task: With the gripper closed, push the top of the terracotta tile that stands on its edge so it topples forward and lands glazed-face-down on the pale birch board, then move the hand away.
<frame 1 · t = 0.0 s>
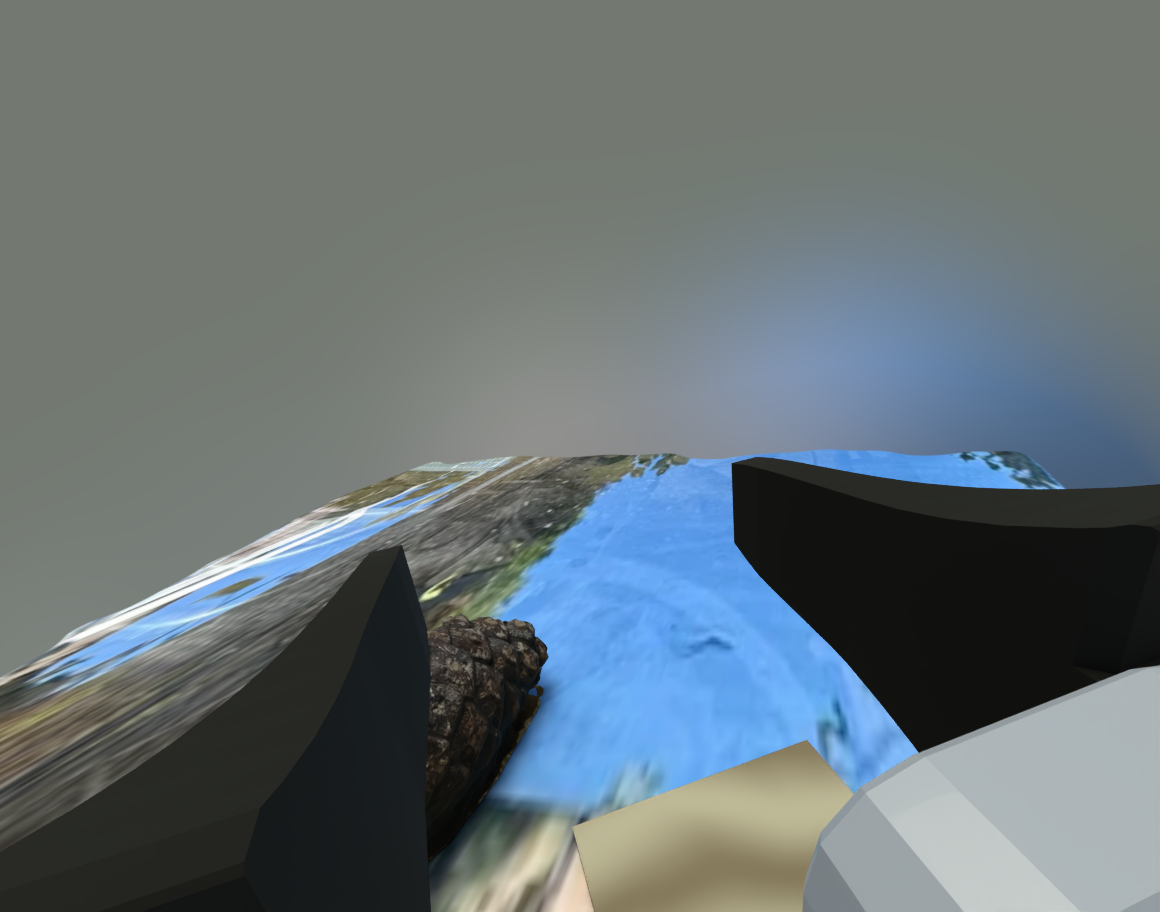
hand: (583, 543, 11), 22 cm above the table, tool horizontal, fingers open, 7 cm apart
pine cone: (440, 768, 34), on the table
board: (750, 886, 24), on the table
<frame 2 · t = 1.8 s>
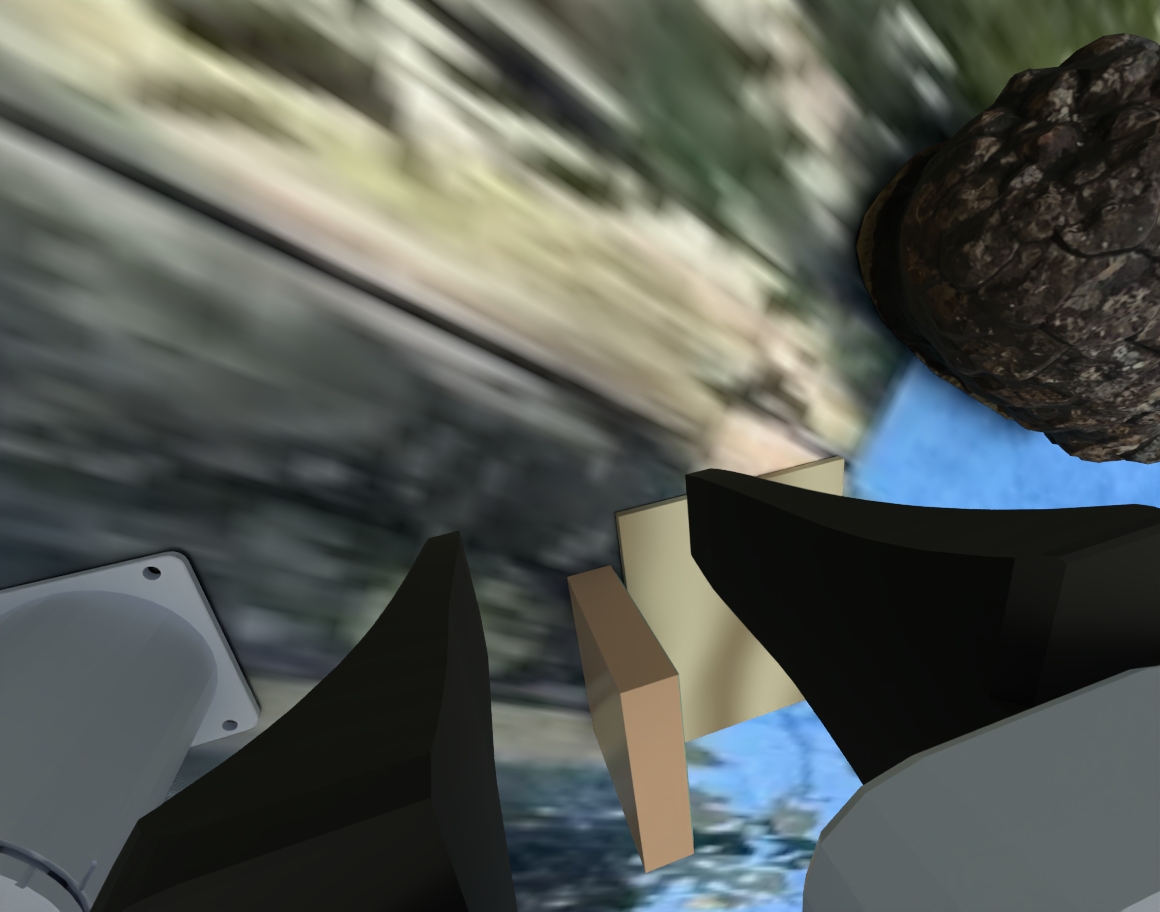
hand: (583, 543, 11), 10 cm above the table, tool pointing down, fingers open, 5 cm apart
pine cone: (982, 286, 24), on the table
tile: (600, 650, 25), on the table
board: (736, 610, 27), on the table
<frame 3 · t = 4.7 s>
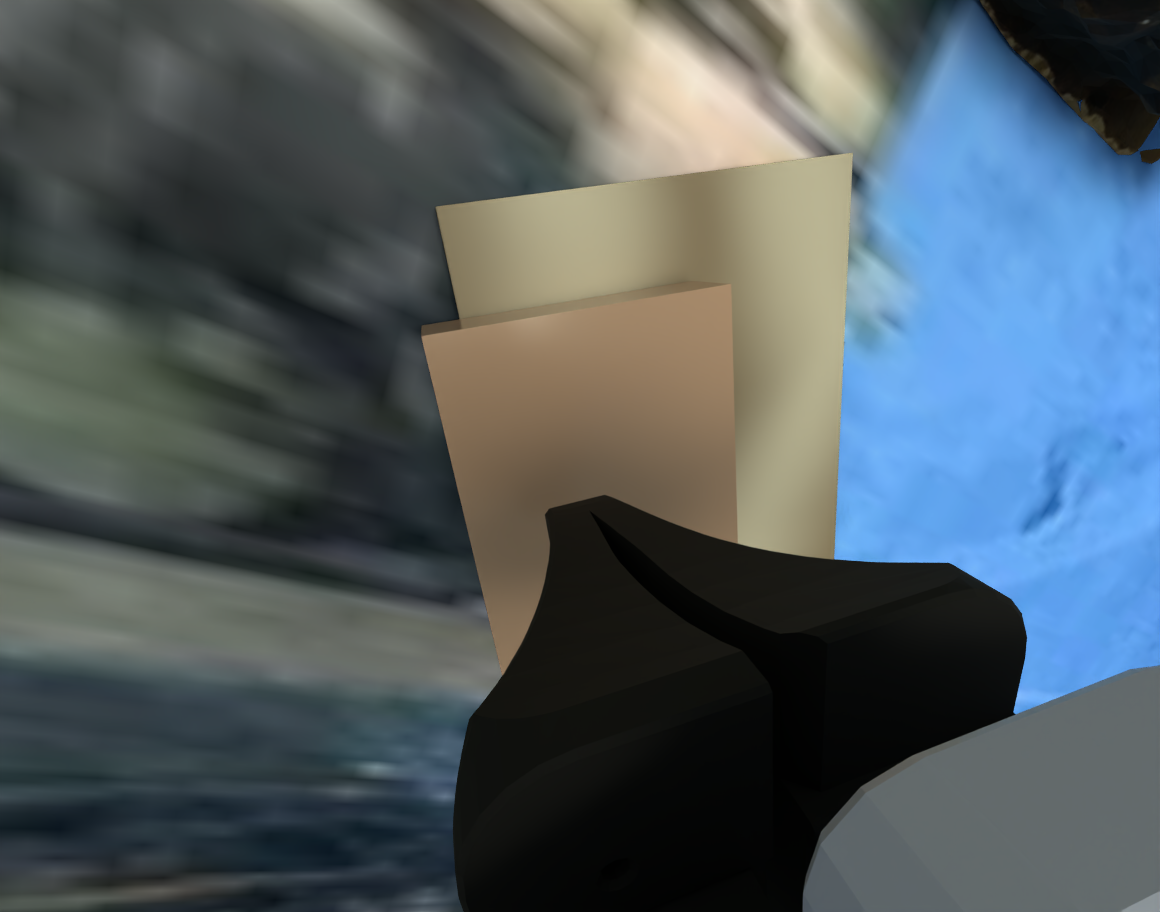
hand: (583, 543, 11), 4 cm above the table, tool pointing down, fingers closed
tile: (464, 510, 14), point 2 cm above the table, tilted 90°, touching board
board: (674, 437, 16), on the table
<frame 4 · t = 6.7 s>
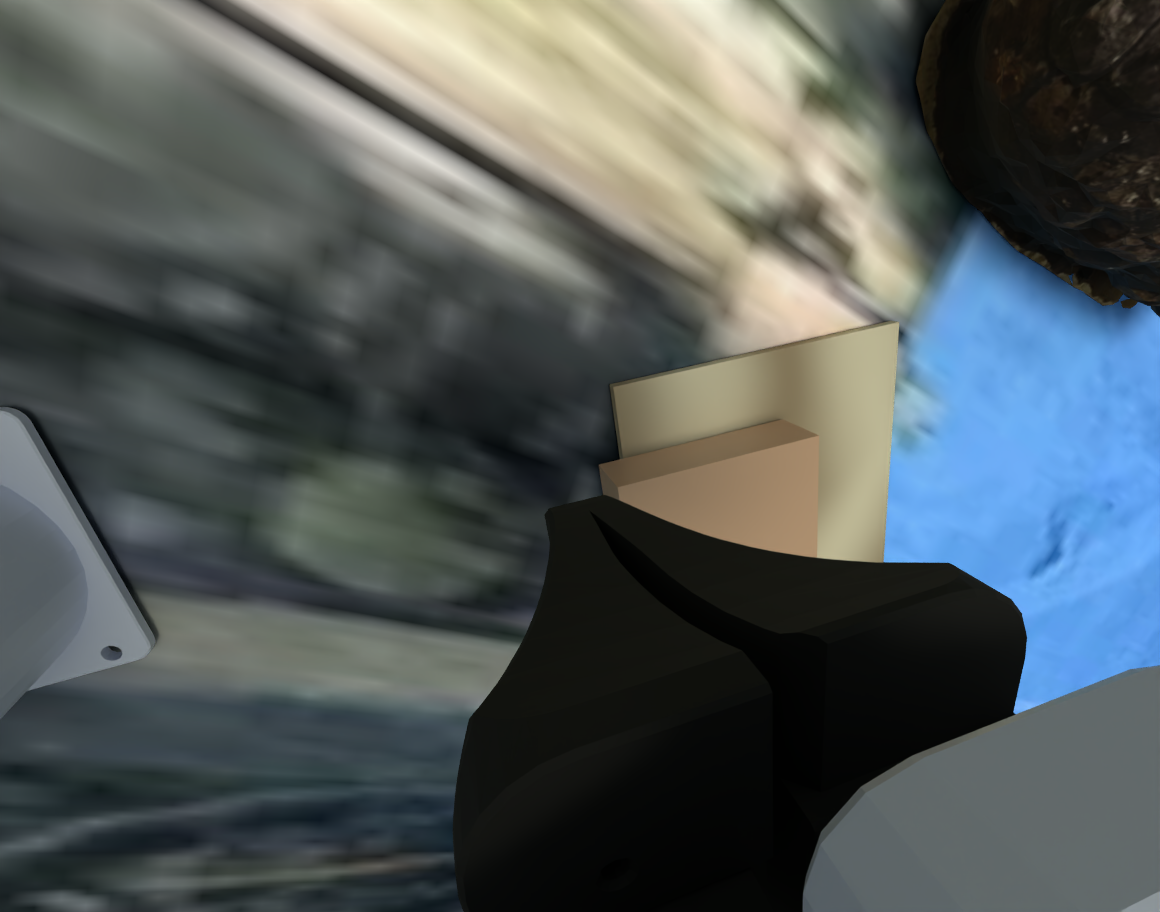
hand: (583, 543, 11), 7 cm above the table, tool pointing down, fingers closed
pine cone: (1071, 132, 20), on the table
tile: (624, 591, 19), point 2 cm above the table, tilted 90°, touching board
board: (763, 523, 22), on the table
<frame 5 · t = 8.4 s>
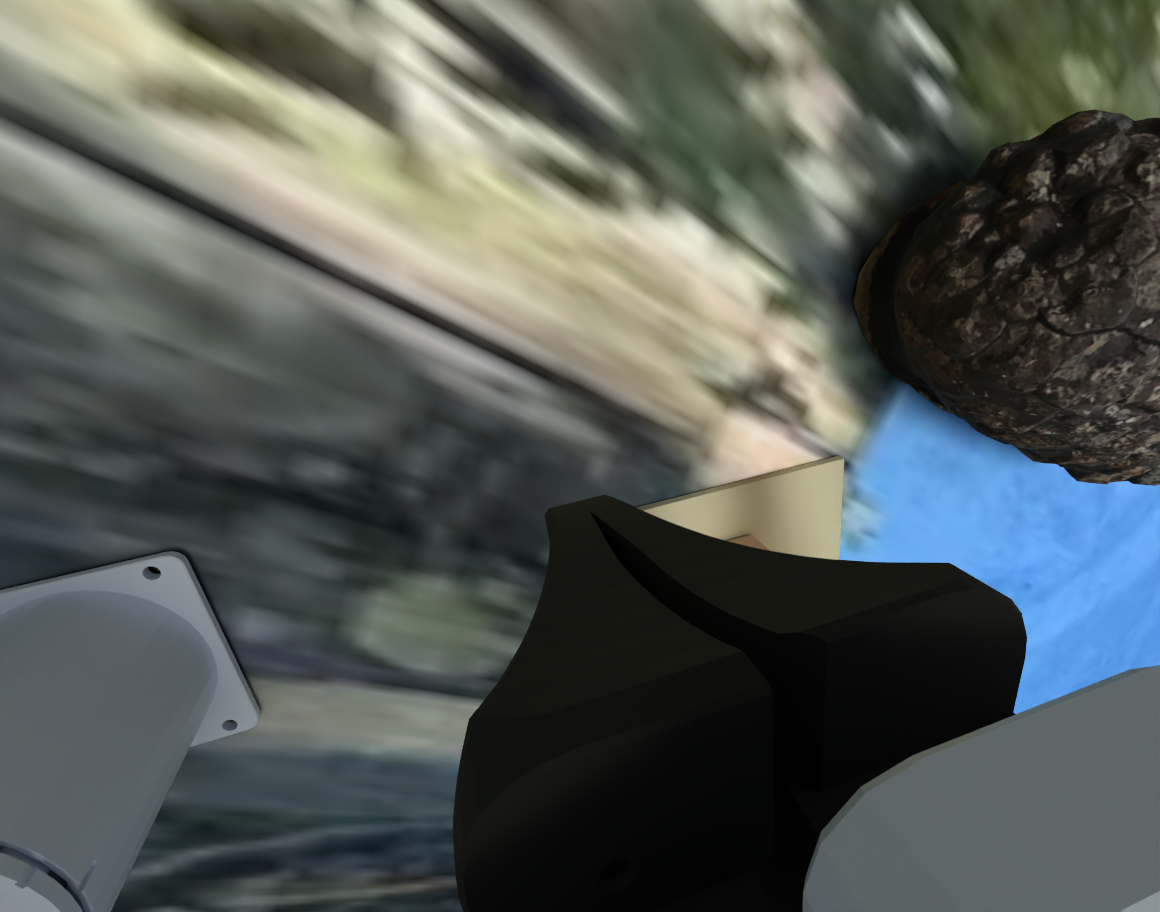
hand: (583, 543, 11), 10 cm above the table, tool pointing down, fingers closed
pine cone: (980, 320, 25), on the table
board: (736, 610, 27), on the table
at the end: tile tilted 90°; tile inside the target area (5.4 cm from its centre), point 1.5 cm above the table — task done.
